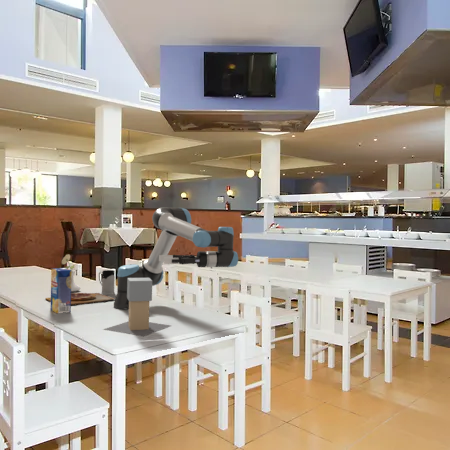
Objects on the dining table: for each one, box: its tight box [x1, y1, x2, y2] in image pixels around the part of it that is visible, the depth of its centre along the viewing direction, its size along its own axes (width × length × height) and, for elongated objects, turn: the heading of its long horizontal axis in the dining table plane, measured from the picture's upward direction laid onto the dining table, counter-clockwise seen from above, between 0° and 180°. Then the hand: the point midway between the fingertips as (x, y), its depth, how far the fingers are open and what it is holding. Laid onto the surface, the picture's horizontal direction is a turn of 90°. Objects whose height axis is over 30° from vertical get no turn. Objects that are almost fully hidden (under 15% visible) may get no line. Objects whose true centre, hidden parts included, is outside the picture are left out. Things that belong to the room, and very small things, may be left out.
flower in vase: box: [61, 254, 81, 293], centre depth 289 cm, size 13×11×25 cm
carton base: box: [127, 301, 150, 330], centre depth 198 cm, size 8×8×18 cm
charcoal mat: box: [102, 321, 172, 337], centre depth 198 cm, size 22×22×1 cm
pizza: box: [45, 292, 116, 306], centre depth 261 cm, size 35×28×4 cm
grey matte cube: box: [127, 278, 153, 302], centre depth 198 cm, size 10×10×9 cm
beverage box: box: [49, 267, 73, 314], centre depth 230 cm, size 7×11×22 cm, turn 40°
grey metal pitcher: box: [98, 269, 116, 296], centre depth 286 cm, size 9×14×15 cm, turn 53°
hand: (161, 259), depth 201 cm, fingers open, 13 cm apart
